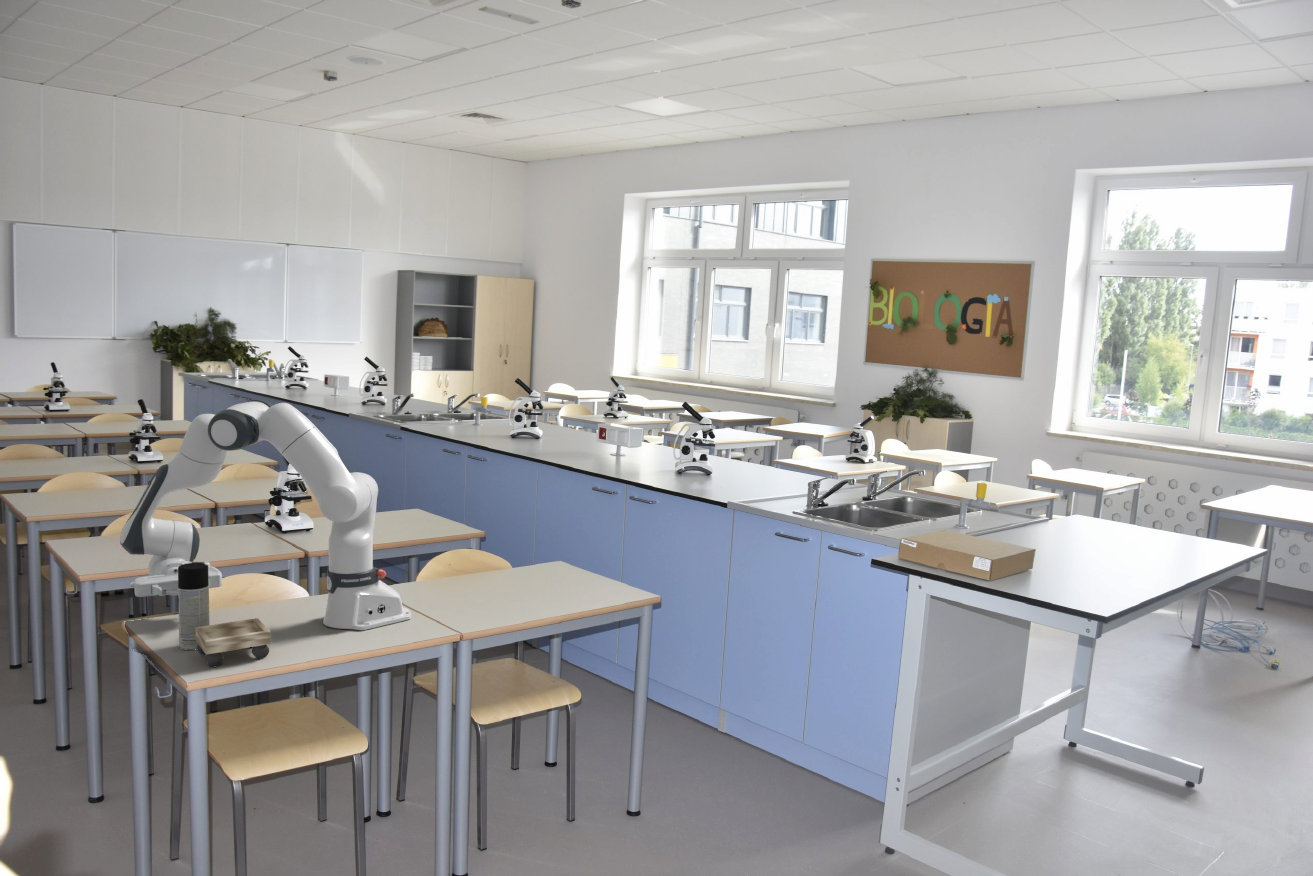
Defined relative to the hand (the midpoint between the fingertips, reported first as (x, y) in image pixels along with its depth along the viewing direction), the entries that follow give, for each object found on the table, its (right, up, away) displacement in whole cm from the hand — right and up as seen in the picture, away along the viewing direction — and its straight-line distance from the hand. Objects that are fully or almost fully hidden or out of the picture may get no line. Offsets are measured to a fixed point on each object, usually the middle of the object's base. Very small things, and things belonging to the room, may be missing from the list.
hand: (184, 590), depth 238 cm
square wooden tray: (+19, -13, -14) cm, 27 cm away
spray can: (+7, -13, -8) cm, 16 cm away
